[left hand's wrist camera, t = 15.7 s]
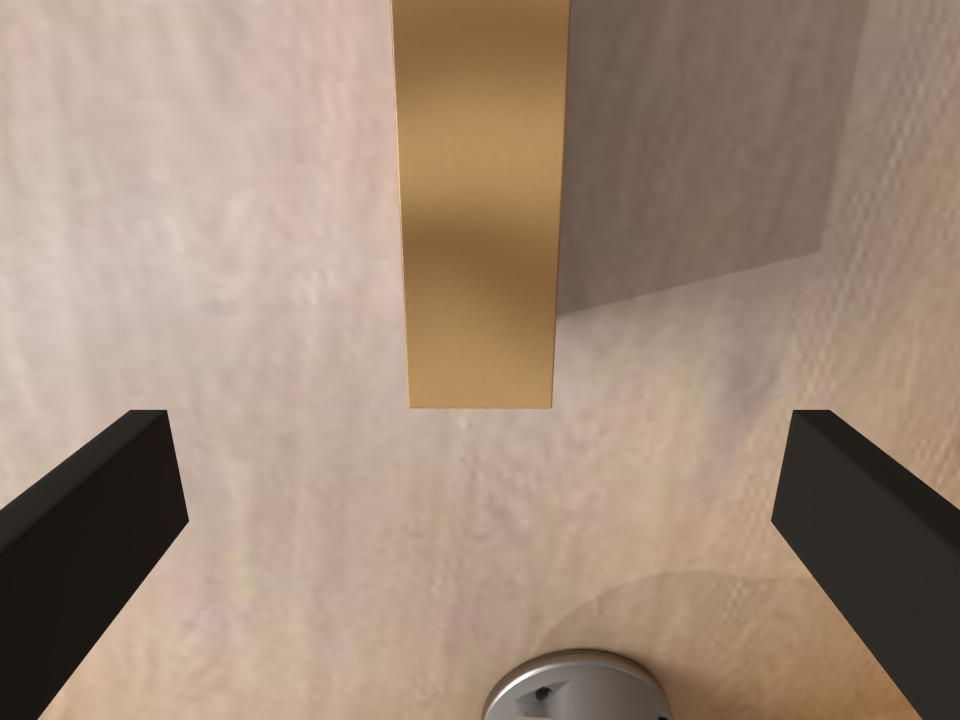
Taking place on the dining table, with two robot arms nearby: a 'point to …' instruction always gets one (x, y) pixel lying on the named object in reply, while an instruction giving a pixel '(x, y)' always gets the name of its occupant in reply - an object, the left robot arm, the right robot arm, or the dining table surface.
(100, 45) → the dining table surface
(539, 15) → the box
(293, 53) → the dining table surface
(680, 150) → the dining table surface
